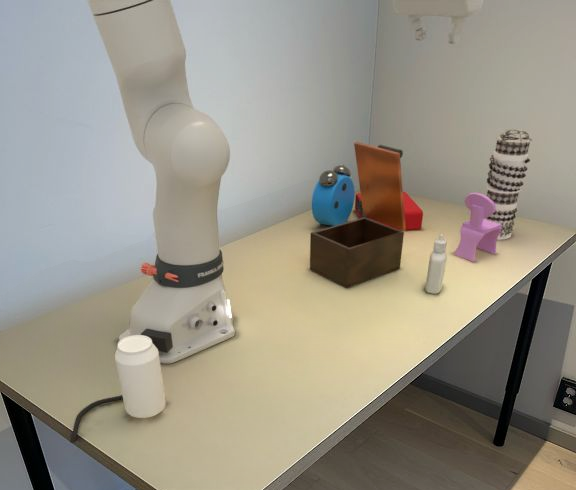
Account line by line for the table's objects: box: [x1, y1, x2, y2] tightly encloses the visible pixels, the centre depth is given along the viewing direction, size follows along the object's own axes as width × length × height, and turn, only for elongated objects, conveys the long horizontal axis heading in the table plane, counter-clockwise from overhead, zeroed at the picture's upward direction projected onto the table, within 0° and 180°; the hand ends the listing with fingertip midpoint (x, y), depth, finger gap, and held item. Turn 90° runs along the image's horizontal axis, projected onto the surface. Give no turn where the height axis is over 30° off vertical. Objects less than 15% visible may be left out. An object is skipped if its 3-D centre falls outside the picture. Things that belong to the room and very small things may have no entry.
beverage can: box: [114, 335, 167, 419], centre depth 87 cm, size 6×6×12 cm
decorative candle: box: [485, 129, 533, 241], centre depth 146 cm, size 9×9×25 cm
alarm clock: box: [311, 164, 356, 228], centre depth 154 cm, size 13×6×15 cm, turn 146°
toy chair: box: [452, 192, 502, 263], centre depth 137 cm, size 8×9×15 cm
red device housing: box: [354, 191, 424, 231], centre depth 160 cm, size 18×14×5 cm
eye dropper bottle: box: [424, 233, 448, 295], centre depth 122 cm, size 4×6×12 cm
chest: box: [309, 217, 405, 289], centre depth 132 cm, size 17×13×9 cm
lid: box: [353, 141, 406, 232], centre depth 128 cm, size 17×13×5 cm
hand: (437, 41), depth 110 cm, fingers open, 8 cm apart
